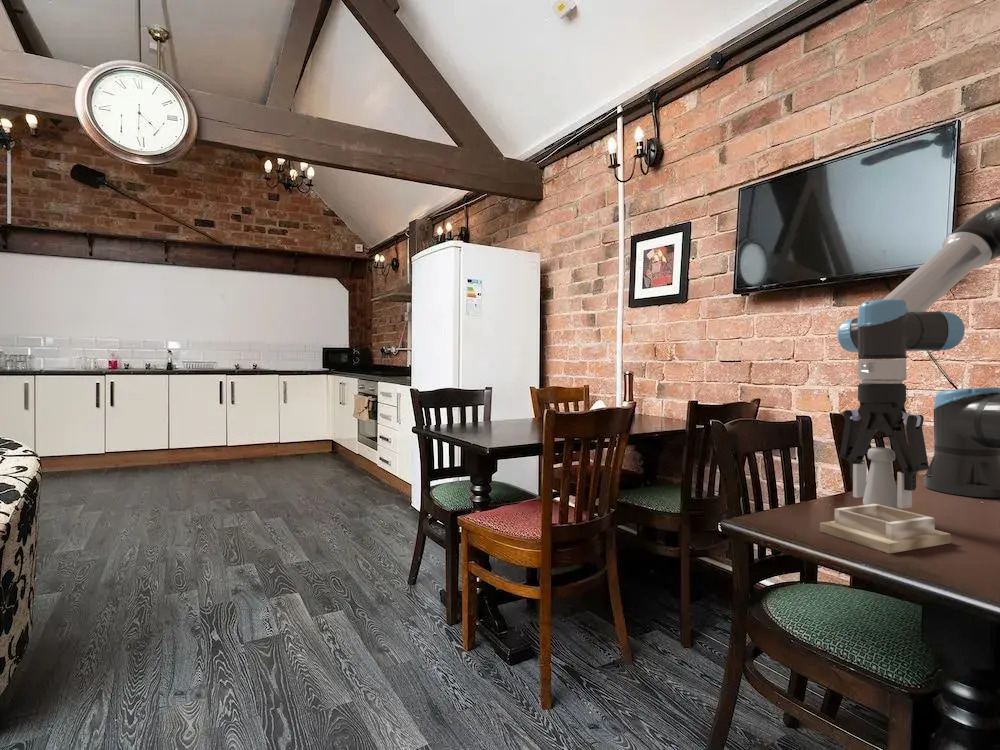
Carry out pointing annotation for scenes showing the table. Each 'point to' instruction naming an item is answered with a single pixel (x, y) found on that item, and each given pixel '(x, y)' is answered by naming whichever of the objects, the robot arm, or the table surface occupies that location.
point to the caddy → (885, 528)
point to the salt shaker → (881, 478)
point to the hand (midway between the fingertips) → (881, 501)
